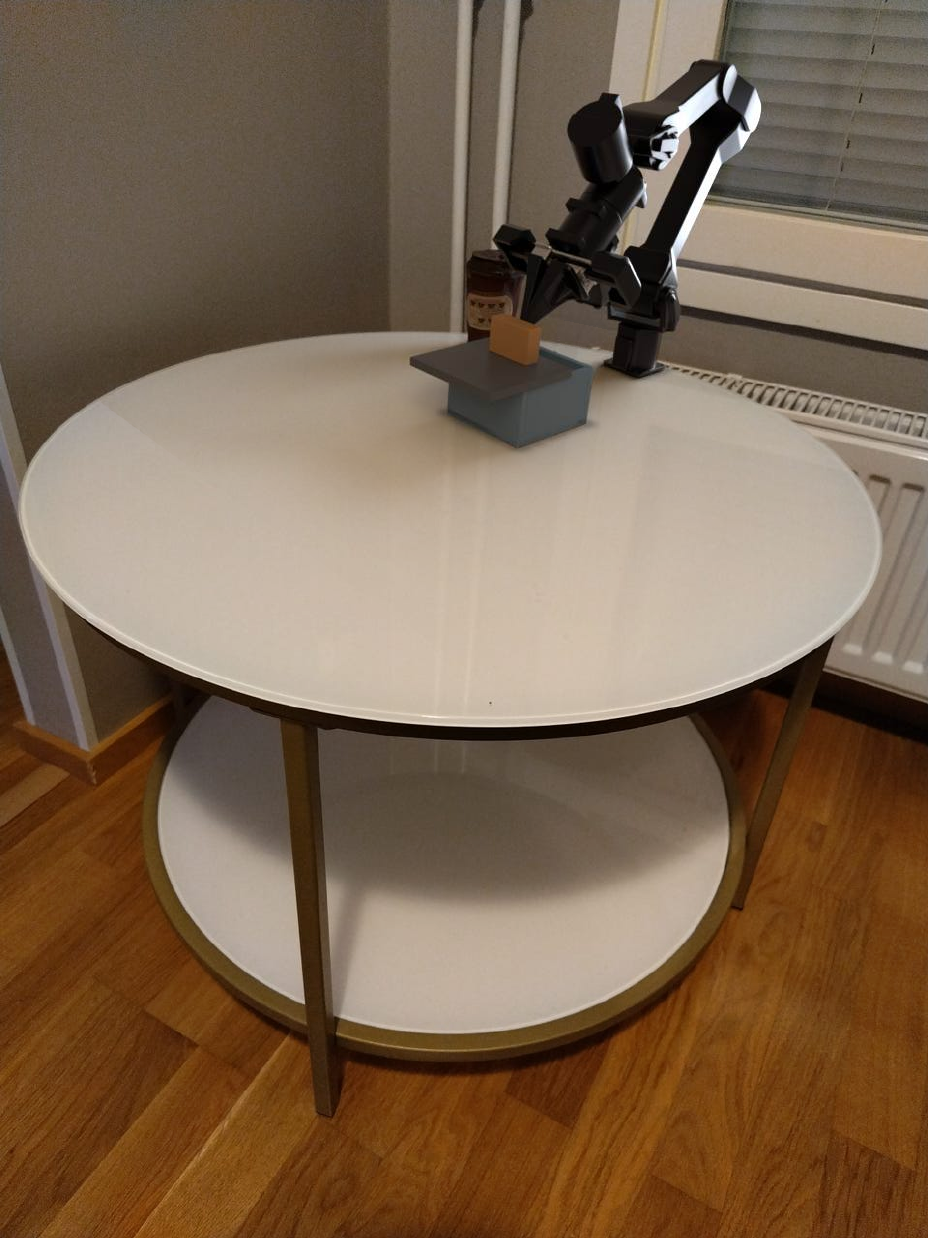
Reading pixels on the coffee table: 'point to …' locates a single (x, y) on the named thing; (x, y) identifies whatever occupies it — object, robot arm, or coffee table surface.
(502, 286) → the coffee cup
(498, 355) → the lid
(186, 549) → the coffee table surface
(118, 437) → the coffee table surface
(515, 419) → the bin
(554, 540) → the coffee table surface
